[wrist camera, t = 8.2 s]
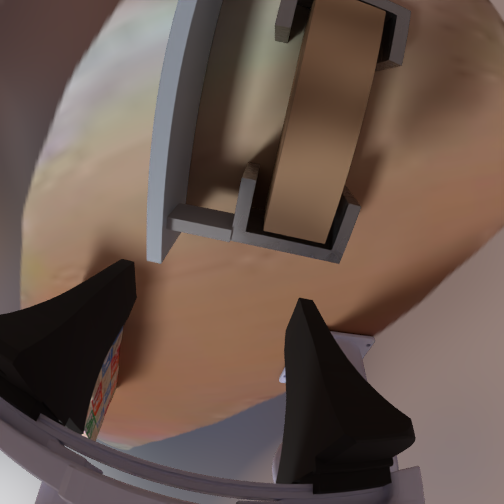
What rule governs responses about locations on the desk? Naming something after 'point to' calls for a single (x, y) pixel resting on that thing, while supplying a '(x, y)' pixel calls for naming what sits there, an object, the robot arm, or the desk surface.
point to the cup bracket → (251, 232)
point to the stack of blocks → (103, 391)
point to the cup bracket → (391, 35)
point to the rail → (323, 117)
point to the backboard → (181, 133)
